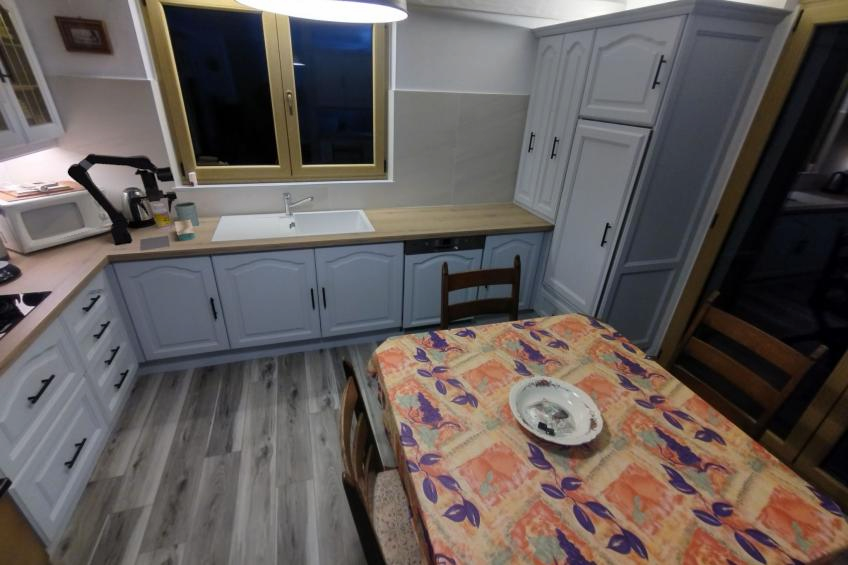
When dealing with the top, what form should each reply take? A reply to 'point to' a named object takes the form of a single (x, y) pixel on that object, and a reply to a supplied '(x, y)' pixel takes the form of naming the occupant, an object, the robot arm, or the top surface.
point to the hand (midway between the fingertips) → (159, 214)
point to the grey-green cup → (187, 212)
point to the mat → (154, 243)
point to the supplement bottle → (161, 216)
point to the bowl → (186, 236)
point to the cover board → (184, 227)
